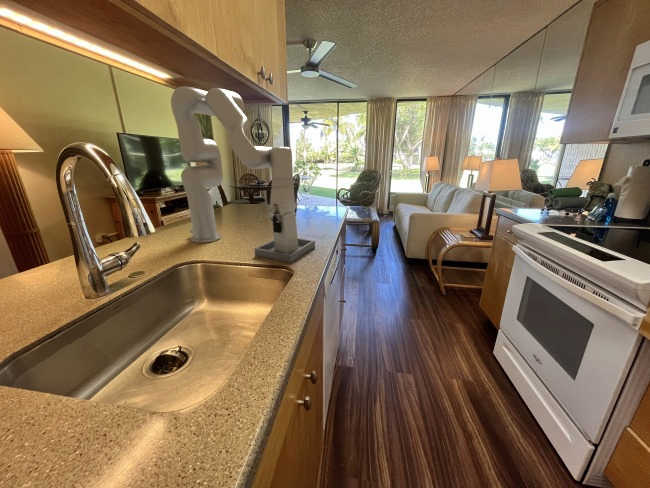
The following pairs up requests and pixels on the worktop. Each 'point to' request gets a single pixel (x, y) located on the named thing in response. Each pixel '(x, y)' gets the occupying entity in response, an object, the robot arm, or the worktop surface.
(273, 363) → the worktop surface
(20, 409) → the worktop surface
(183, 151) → the robot arm
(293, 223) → the skincare box
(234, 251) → the worktop surface
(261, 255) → the tray
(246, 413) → the worktop surface
